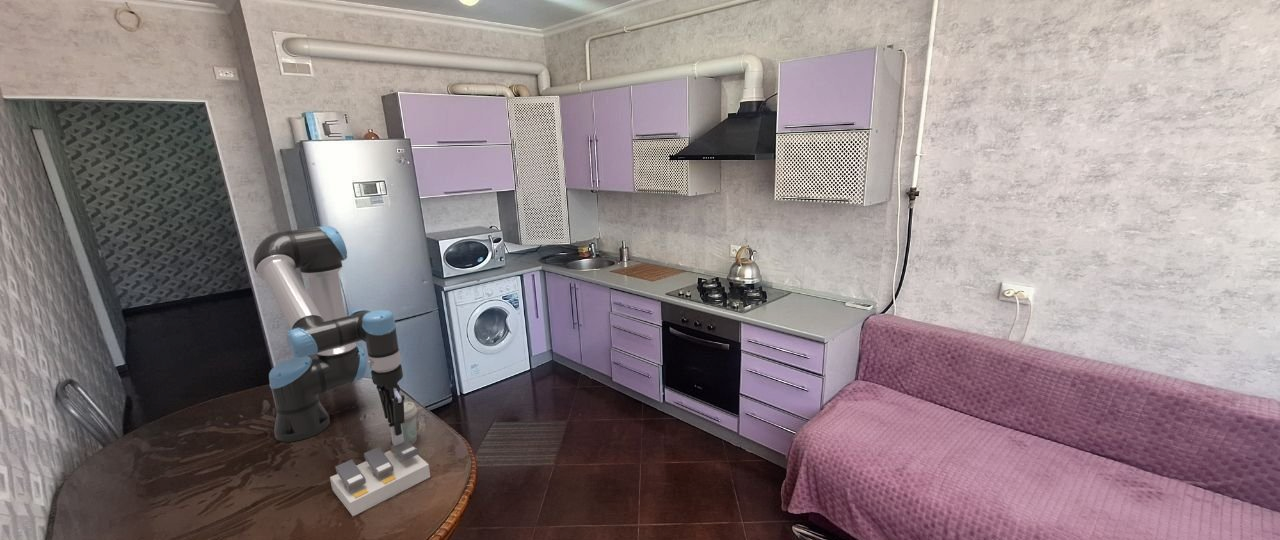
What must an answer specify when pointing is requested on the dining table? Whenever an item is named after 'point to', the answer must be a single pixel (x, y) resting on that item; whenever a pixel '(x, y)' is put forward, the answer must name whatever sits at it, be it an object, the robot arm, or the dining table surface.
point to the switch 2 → (378, 462)
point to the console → (381, 483)
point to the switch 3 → (404, 450)
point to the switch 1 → (350, 475)
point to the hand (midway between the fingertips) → (398, 443)
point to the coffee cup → (409, 423)
